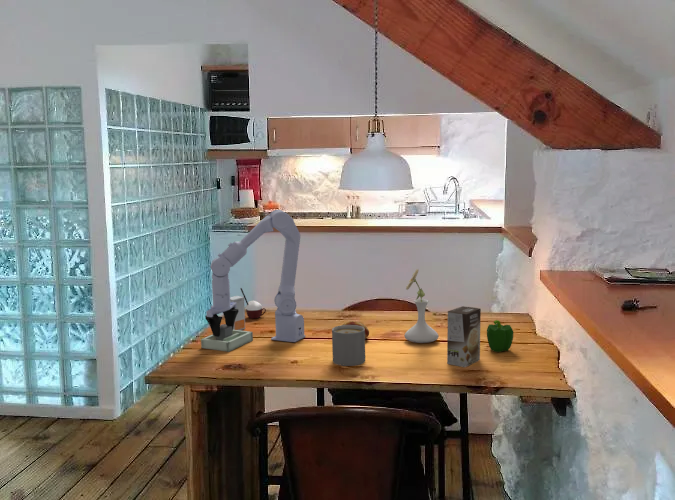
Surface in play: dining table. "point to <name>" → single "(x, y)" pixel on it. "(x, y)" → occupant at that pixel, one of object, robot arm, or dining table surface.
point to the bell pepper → (499, 336)
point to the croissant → (358, 325)
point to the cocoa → (253, 308)
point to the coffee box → (463, 336)
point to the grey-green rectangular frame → (227, 341)
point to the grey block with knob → (224, 332)
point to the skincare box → (239, 313)
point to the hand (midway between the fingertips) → (223, 333)
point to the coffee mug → (348, 345)
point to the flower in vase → (420, 319)
